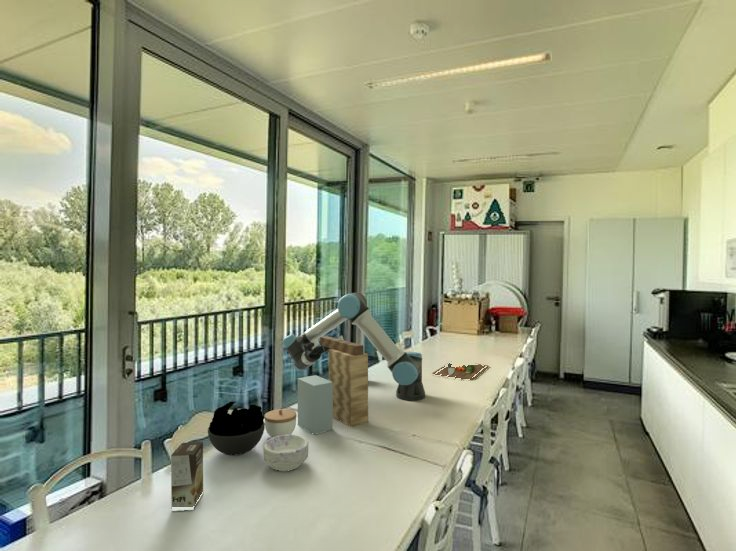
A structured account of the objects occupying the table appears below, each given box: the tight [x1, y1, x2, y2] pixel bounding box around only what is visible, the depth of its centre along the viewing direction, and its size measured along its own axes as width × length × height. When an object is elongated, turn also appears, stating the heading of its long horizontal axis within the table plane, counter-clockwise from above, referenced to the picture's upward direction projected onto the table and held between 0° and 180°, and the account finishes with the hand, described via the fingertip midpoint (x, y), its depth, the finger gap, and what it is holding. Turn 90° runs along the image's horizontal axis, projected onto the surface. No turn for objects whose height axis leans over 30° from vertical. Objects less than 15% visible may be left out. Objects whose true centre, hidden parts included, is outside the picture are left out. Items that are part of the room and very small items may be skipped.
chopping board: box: [431, 362, 490, 381], centre depth 281 cm, size 45×27×3 cm, turn 151°
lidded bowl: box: [263, 408, 297, 438], centre depth 174 cm, size 13×13×11 cm
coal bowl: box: [207, 401, 266, 457], centre depth 159 cm, size 20×20×19 cm
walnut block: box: [319, 335, 364, 356], centre depth 199 cm, size 30×4×4 cm, turn 37°
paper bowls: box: [262, 434, 309, 472], centre depth 150 cm, size 15×15×8 cm
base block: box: [296, 374, 334, 435], centre depth 184 cm, size 14×9×20 cm, turn 37°
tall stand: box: [328, 349, 369, 427], centre depth 194 cm, size 18×9×30 cm, turn 37°
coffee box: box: [170, 441, 204, 508], centre depth 126 cm, size 9×6×16 cm
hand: (330, 339), depth 206 cm, fingers open, 13 cm apart
